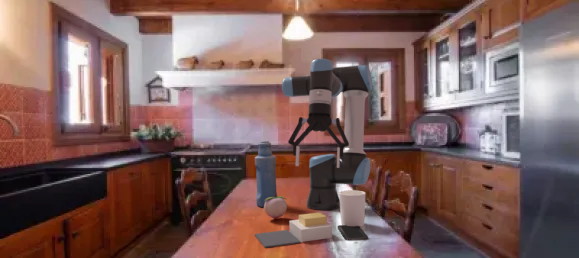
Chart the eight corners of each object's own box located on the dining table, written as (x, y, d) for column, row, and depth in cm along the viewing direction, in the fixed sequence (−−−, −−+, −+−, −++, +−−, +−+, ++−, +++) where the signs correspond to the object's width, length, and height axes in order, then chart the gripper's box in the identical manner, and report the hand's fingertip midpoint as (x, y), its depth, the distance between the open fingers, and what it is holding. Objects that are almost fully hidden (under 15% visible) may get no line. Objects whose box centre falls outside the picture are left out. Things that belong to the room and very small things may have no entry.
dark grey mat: (287, 231, 138) (287, 229, 138) (300, 243, 124) (300, 241, 124) (254, 235, 134) (254, 233, 134) (264, 247, 121) (264, 246, 120)
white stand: (318, 228, 140) (318, 217, 140) (332, 237, 129) (331, 225, 129) (289, 231, 137) (289, 220, 137) (301, 241, 125) (301, 229, 125)
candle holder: (357, 220, 150) (356, 189, 150) (371, 226, 141) (370, 193, 140) (334, 223, 146) (334, 191, 146) (347, 229, 137) (347, 196, 137)
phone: (345, 238, 126) (337, 225, 141) (345, 241, 126) (337, 228, 141) (368, 237, 126) (358, 224, 141) (368, 240, 126) (358, 227, 141)
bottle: (280, 206, 177) (278, 141, 176) (259, 208, 173) (257, 142, 172) (273, 202, 186) (271, 140, 185) (253, 204, 182) (252, 141, 181)
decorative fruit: (271, 223, 148) (270, 197, 148) (261, 219, 155) (260, 194, 155) (291, 219, 153) (291, 194, 153) (281, 215, 160) (281, 191, 160)
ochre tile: (319, 219, 137) (319, 212, 137) (326, 223, 131) (326, 216, 131) (298, 221, 135) (298, 214, 135) (304, 226, 129) (304, 219, 129)
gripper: (282, 101, 129) (278, 164, 126) (357, 102, 125) (355, 167, 122) (285, 105, 137) (282, 165, 133) (356, 107, 133) (355, 168, 130)
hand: (317, 166), depth 128 cm, fingers open, 13 cm apart
